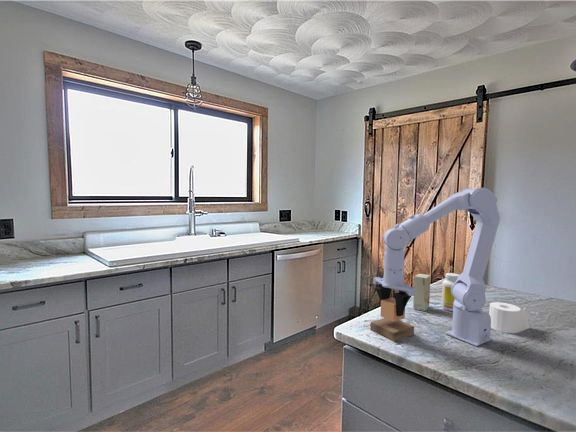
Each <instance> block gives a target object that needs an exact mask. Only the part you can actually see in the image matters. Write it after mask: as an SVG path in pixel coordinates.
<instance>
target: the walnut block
mask: <svg viewBox="0 0 576 432" xmlns="http://www.w3.org/2000/svg"><path fill="white" fill-rule="evenodd" d="M369 329H370V331H371V332H373V333H375V334H377V335H379V336H381V337H383V338H386V339H387V340H389V341H391V342H397V341H399V340H402V339H405V338H408V337H411V336H414V334H415V325H412V324H409V323H407V322H405V321H403V320H398V321H394V322H393V321H391V320H388V319H386V318H384V317H382V318H380V319H376V320H373V321H370V328H369Z"/></svg>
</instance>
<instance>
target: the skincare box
mask: <svg viewBox="0 0 576 432" xmlns="http://www.w3.org/2000/svg"><path fill="white" fill-rule="evenodd" d="M413 277H414V281H413V282H414V283H413V288H415V289H416V295H414V296H413V304H412V309H414V310H416V311H417V310H418V311H422V312H426V311H427V310H428V309H429V308H430V296H431V295H430V294H431V293H430V292H431V275H430V274H425V273H418V274H416V275H415V276H413Z"/></svg>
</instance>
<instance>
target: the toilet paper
mask: <svg viewBox="0 0 576 432" xmlns="http://www.w3.org/2000/svg"><path fill="white" fill-rule="evenodd" d="M488 310H489V312H488V314H489V315H490V317H491V329H492V330H495V331H498V332H501V333H506V334H518V333H520V332H523V331H526V330H528V329H530V324H529V323H530V322H529V319H528V313H527V309H526V307H524V308H523V309H521V307H519V306H517V305H515V304H512V303H508V302H500V301H499V302H498V301H497V302H496V301H495V302H494V301H493V302H490V303H489V309H488Z"/></svg>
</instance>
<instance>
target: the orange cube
mask: <svg viewBox="0 0 576 432" xmlns="http://www.w3.org/2000/svg"><path fill="white" fill-rule="evenodd" d="M380 317H382V318H386V319H388V320H391V321H393V322H394V321H398V320H400V321H402V320H404V319H405V318H406V309H405V310H404V313H403V315H402V316H397V315H396V301H395V297H390V298H388V299H384V300H381V302H380Z"/></svg>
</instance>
